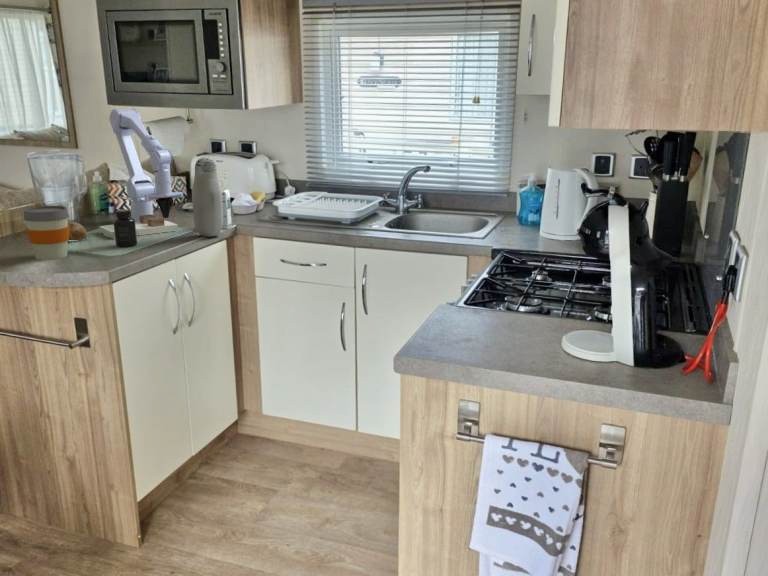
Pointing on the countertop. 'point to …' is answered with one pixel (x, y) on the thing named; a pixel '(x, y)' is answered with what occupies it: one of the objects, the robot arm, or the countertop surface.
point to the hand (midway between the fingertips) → (165, 217)
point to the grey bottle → (207, 198)
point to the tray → (110, 230)
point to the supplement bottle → (125, 229)
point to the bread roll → (76, 231)
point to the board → (155, 228)
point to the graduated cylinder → (226, 209)
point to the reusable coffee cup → (48, 231)
